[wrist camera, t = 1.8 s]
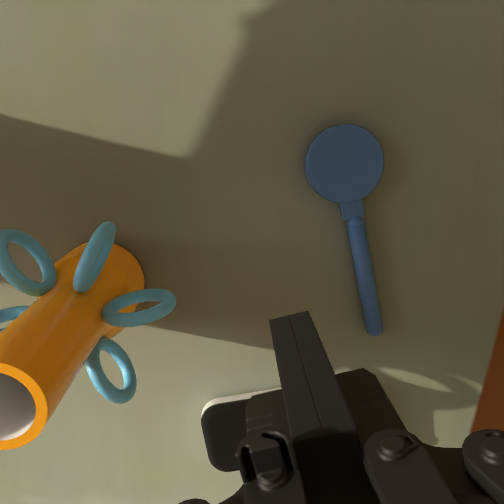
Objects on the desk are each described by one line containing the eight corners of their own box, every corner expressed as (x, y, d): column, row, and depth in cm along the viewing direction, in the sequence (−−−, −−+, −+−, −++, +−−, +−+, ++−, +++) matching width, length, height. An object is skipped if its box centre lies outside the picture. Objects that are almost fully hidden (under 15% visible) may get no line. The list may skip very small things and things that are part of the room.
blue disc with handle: (297, 135, 29) (300, 135, 28) (372, 115, 29) (378, 115, 28) (340, 339, 34) (344, 347, 32) (406, 323, 33) (412, 330, 32)
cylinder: (60, 170, 29) (-107, 211, 15) (203, 233, 31) (177, 325, 16) (6, 322, 32) (-179, 481, 18) (139, 373, 34) (70, 556, 19)
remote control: (198, 397, 34) (196, 413, 32) (356, 371, 34) (364, 385, 32) (212, 461, 36) (211, 479, 34) (363, 436, 36) (370, 453, 34)
